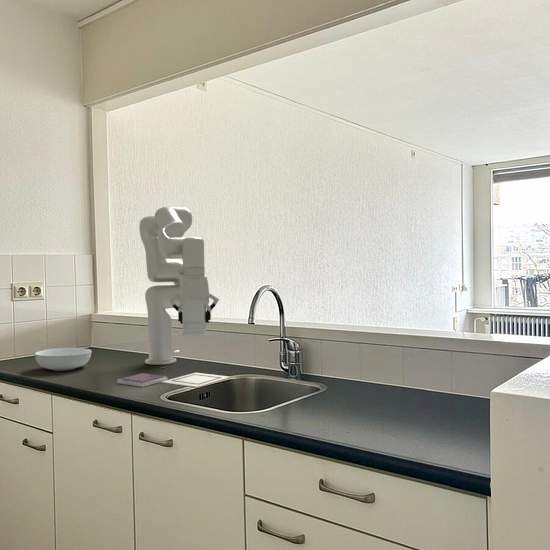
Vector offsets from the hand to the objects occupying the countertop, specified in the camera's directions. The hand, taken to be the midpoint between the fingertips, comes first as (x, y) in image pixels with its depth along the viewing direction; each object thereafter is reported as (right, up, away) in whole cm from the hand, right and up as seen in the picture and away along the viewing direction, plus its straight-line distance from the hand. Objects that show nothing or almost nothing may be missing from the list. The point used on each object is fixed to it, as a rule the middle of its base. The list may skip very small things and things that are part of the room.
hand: (194, 322), depth 198 cm
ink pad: (-18, -20, -1) cm, 27 cm away
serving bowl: (-55, -20, +26) cm, 65 cm away
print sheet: (+1, -20, 0) cm, 20 cm away
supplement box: (0, -4, 0) cm, 4 cm away
